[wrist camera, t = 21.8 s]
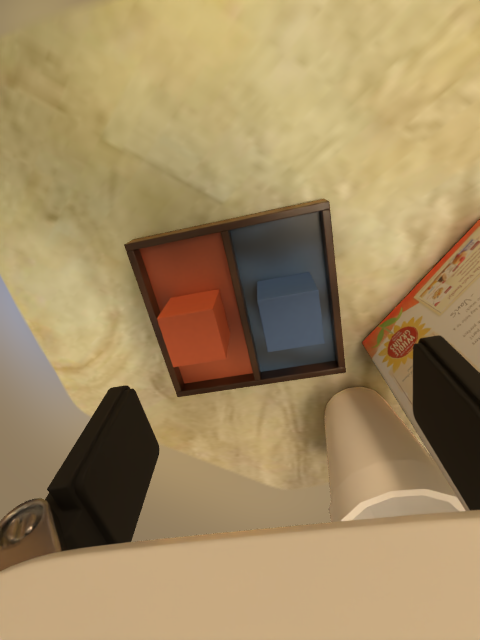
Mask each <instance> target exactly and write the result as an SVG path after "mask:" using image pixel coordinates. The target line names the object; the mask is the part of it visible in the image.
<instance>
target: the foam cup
mask: <svg viewBox="0 0 480 640" xmlns="http://www.w3.org/2000/svg"><path fill="white" fill-rule="evenodd" d="M324 415H325V431H326V445H327V458H328V471H329V484H330V497H331V503H330V507H329V513H330V518H331V522H339V521H350V520H361V519H372V518H383V517H394V516H405V515H417V514H430V513H444V512H457V511H465V509H464V507H463V506H462V504H461V503H460V501H459V499H458V498H457V496H456V495H455V493H454V492H453V490H452V488H451V487H450V485H449V484H448V482H447V480H446V479H445V477H444V476H443V474H442V472H441V471H440V469H439V467H438V466H437V464H436V463H435V461H434V460H433V458H432V457H431V456H430V455H429V453H428V452H427V451H426V450H425V448H424V447H423V446H422V445H421V444H420V442H419V441H418V440H417V439H416V437H415V436H414V435H413V434H412V432H411V431H410V430H409V429H408V427H407V426H406V425H405V424H404V422H403V421H402V420H401V419H400V418H399V416H398V415H397V414H396V413H395V411H394V410H393V409H392V408H391V406H390V405H389V404H388V403H387V402H386V401H385V400H384V398H383V397H382V396H381V395H380V394H378V393H377V392H376V391H375V390H372V389H368V388H365V387H353V388H347V389H345V390H343V391H341V392H339V393H337V394H335V395H334V396H333V397H332V398H331V399H330V401H329V402H328V403H327V405H326V410H325V414H324Z"/></svg>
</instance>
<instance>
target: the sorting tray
mask: <svg viewBox="0 0 480 640" xmlns="http://www.w3.org/2000/svg"><path fill="white" fill-rule="evenodd" d="M124 246H125V249H126V251H127V254H128V257H129V260H130V263H131V266H132V269H133V271H134V274H135V277H136V280H137V283H138V286H139V289H140V291H141V294H142V297H143V300H144V303H145V306H146V309H147V311H148V314H149V317H150V320H151V323H152V326H153V328H154V331H155V334H156V337H157V340H158V343H159V346H160V348H161V351H162V354H163V357H164V360H165V363H166V366H167V368H168V371H169V374H170V377H171V380H172V383H173V386H174V388H175V391H176V394H177V397H182V396H189V395H195V394H202V393H209V392H216V391H223V390H229V389H236V388H243V387H250V386H256V385H263V384H270V383H277V382H284V381H290V380H297V379H304V378H311V377H318V376H324V375H331V374H338V373H345V372H346V368H345V358H344V348H343V337H342V327H341V317H340V307H339V296H338V286H337V276H336V266H335V255H334V245H333V235H332V225H331V214H330V204H329V201H328V200H325V199H320V200H316V201H311V202H306V203H301V204H297V205H292V206H287V207H283V208H278V209H273V210H269V211H264V212H259V213H255V214H250V215H245V216H241V217H236V218H231V219H226V220H222V221H217V222H212V223H208V224H203V225H198V226H194V227H189V228H184V229H180V230H175V231H170V232H166V233H161V234H156V235H151V236H147V237H142V238H137V239H133V240H131V241H129V242H128V243H126V244H124ZM306 272H310V274H311V276H312V278H313V280H314V282H315V284H316V286H317V288H318V291H319V299H320V307H321V315H322V323H323V332H324V340H325V343H323V344H317V345H311V346H304V347H298V348H292V349H286V350H279V351H273V352H267V347H266V342H265V337H264V332H263V327H262V322H261V317H260V312H259V307H258V302H257V282H258V281H264V280H269V279H274V278H280V277H285V276H290V275H296V274H301V273H306ZM216 289H219V290H220V294H221V298H222V302H223V306H224V310H225V314H226V318H227V322H228V326H229V330H230V338H229V345H228V351H227V357H226V359H223V360H217V361H210V362H204V363H198V364H191V365H185V366H179V367H173V365H172V362H171V359H170V356H169V353H168V350H167V347H166V344H165V341H164V338H163V335H162V333H161V330H160V327H159V324H158V321H157V318H158V316H159V315H160V313H161V312H162V310H163V308H164V307H165V305H166V304H167V302H168V301H169V299H170V298H173V297H178V296H183V295H189V294H194V293H199V292H205V291H210V290H216Z"/></svg>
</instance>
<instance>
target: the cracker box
mask: <svg viewBox="0 0 480 640" xmlns="http://www.w3.org/2000/svg"><path fill="white" fill-rule="evenodd" d="M438 335H440V336H442V337H443V338H444V339H445V340H446V341H447V342H448V343H449V344H450V345H451V346H452V347H453V348H455V349H456V350H457V351H458V352H459V353H460V354H461V355H462V356H463V357H464V358H465V359H466V360H467V361H468V362H469V363H470V364H471V365H472V366H473V367H474V368H475V369H476V370H477V371H478V372H479V373H480V219H479V220H478V221H477V222H476V224H475V225H474V226H473V227H472V228H471V229H470V230H469V231H468V232H467V233H466V234H465V235H464V236H463V237H462V238H461V239H460V240H459V241H458V242H457V243H456V244H455V245H454V247H453V248H452V249H451V250H450V251H449V252H448V253H447V254H446V255H445V256H444V257H443V258H442V259H441V260H440V261H439V262H438V263H437V264H436V265H435V266H434V267H433V269H432V270H431V271H430V272H429V273H428V274H427V275H426V276H425V277H424V278H423V279H422V280H421V281H420V282H419V283H418V284H417V285H416V286H415V288H414V289H413V290H412V291H411V292H410V293H409V294H408V295H407V296H406V297H405V298H404V299H403V300H402V301H401V302H400V303H399V304H398V305H397V306H396V307H395V308H394V309H393V310H392V312H391V313H390V314H389V315H388V316H387V317H386V318H385V319H384V320H383V321H382V322H381V323H380V324H379V325H378V326H377V327H376V328H375V329H374V330H373V331H372V332H371V334H370V335H369V336H368V337H367V338H366V339H365V340H364V341H363V342H362V344H363V346H364V347H365V349H366V351H367V352H368V354H369V356H370V357H371V359H372V361H373V362H374V364H375V365H376V367H377V369H378V370H379V372H380V373H381V375H382V377H383V378H384V380H385V382H386V383H387V385H388V386H389V388H390V390H391V391H392V393H393V395H394V396H395V398H396V400H397V401H398V403H399V404H400V406H401V408H402V409H403V411H404V412H405V414H406V416H407V417H408V419H409V421H410V422H411V424H412V425H413V427H414V429H415V430H416V432H417V434H418V435H419V437H420V438H421V440H422V442H423V443H424V445H425V447H426V448H427V450H428V451H429V453H430V455H431V456H432V458H433V459H434V461H435V463H436V464H437V466H438V467H439V469H440V471H441V472H442V474H443V476H444V477H445V479H446V480H447V482H448V484H449V485H450V487H451V488H452V490H453V492H454V493H455V495H456V496H457V498H458V499H459V501H460V503H461V504H462V506H463V507H464V509H465V511H470V510H469V508H468V506H467V505H466V503H465V501H464V500H463V498H462V496H461V495H460V493H459V492H458V490H457V488H456V487H455V485H454V483H453V482H452V480H451V478H450V477H449V475H448V473H447V472H446V470H445V468H444V467H443V465H442V463H441V462H440V460H439V458H438V457H437V455H436V454H435V452H434V450H433V449H432V447H431V445H430V444H429V442H428V440H427V439H426V437H425V435H424V434H423V432H422V430H421V429H420V427H419V425H418V424H417V422H416V420H415V418H414V415H413V345H414V344H417V343H418V341H419V339H420V338H425V337H431V336H438Z"/></svg>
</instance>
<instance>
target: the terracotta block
mask: <svg viewBox="0 0 480 640" xmlns="http://www.w3.org/2000/svg"><path fill="white" fill-rule="evenodd" d="M157 321H158V324H159V327H160V330H161V333H162V335H163V338H164V341H165V344H166V347H167V350H168V353H169V356H170V359H171V362H172V365H173V367H179V366H185V365H191V364H198V363H204V362H210V361H217V360H223V359H226V357H227V351H228V345H229V338H230V330H229V326H228V322H227V318H226V314H225V310H224V306H223V302H222V298H221V294H220V290H219V289H216V290H210V291H205V292H199V293H194V294H189V295H183V296H178V297H173V298H170V299H169V301H168V302H167V304H166V305H165V307H164V308H163V310H162V312H161V313H160V315H159V316H158V318H157Z"/></svg>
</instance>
